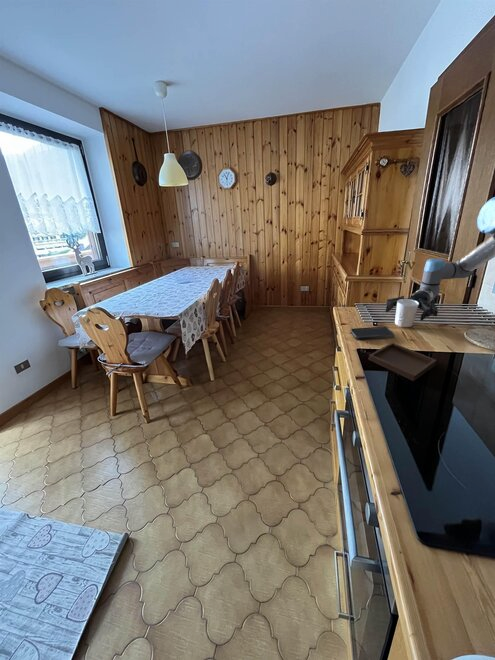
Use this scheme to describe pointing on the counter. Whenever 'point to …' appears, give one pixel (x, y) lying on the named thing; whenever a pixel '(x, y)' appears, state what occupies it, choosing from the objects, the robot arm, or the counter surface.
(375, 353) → the tray
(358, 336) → the phone
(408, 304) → the white cup
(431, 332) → the counter surface
